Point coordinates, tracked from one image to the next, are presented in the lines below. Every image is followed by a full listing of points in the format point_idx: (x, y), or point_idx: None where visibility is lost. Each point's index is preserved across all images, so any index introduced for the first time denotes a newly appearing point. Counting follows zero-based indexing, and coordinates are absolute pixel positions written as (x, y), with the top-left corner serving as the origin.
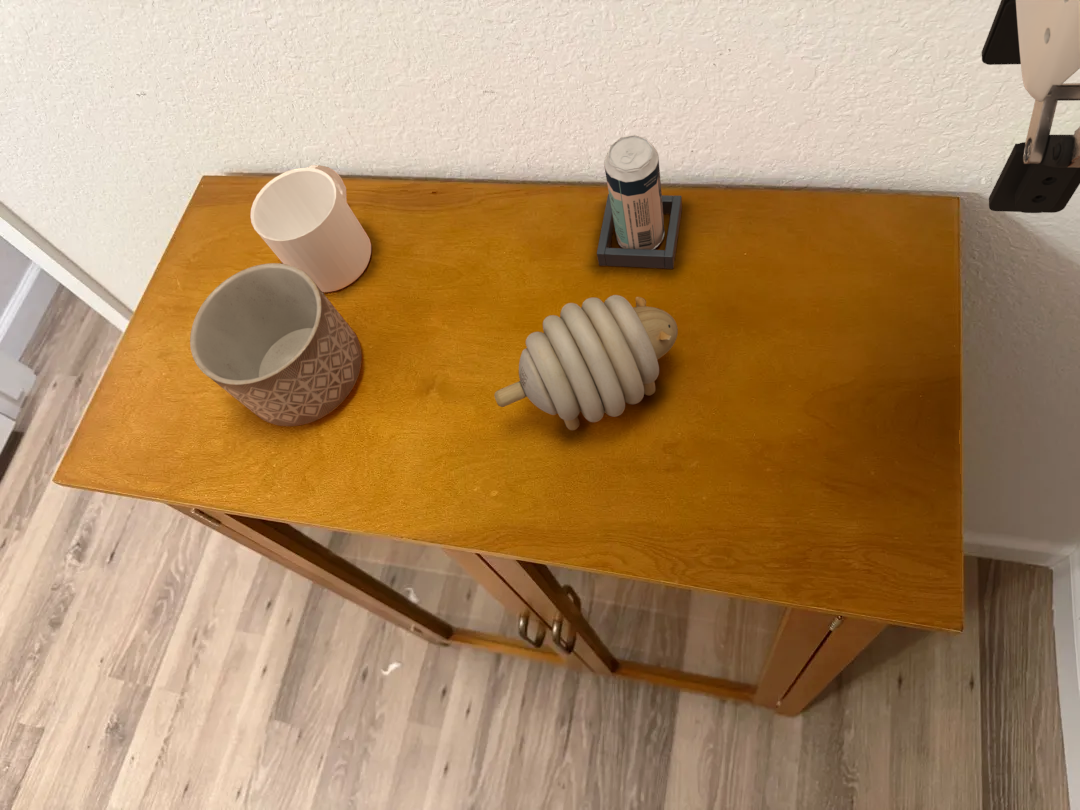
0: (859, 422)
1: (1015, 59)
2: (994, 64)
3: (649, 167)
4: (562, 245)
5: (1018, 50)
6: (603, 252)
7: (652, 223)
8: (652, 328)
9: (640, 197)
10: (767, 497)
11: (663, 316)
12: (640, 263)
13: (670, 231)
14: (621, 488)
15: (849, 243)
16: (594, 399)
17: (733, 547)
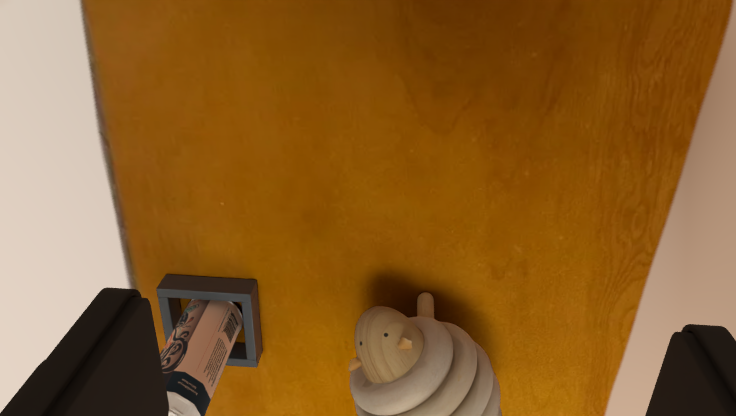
0: (461, 69)
1: (153, 370)
2: (166, 394)
3: (177, 403)
4: (240, 385)
5: (141, 395)
6: (254, 361)
7: (217, 333)
8: (399, 361)
9: (207, 383)
10: (563, 173)
11: (375, 344)
12: (257, 317)
13: (212, 297)
14: (546, 315)
15: (183, 78)
16: (494, 406)
17: (624, 207)
